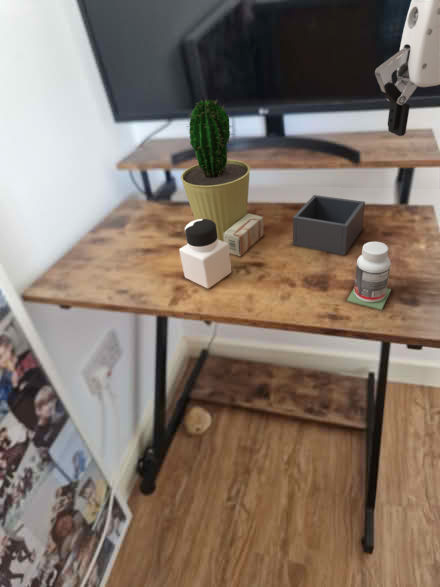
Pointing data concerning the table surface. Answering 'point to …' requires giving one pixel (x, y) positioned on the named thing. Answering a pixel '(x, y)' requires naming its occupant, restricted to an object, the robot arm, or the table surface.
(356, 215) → the tub
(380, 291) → the pill bottle
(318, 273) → the table surface
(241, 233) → the small printed carton
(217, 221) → the potted cactus
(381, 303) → the mat
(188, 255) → the medicine bottle
